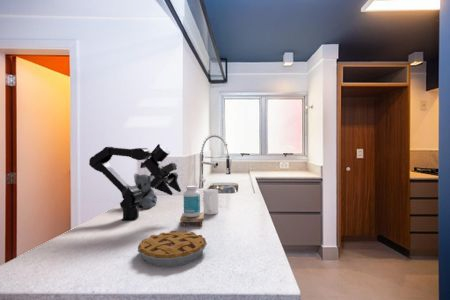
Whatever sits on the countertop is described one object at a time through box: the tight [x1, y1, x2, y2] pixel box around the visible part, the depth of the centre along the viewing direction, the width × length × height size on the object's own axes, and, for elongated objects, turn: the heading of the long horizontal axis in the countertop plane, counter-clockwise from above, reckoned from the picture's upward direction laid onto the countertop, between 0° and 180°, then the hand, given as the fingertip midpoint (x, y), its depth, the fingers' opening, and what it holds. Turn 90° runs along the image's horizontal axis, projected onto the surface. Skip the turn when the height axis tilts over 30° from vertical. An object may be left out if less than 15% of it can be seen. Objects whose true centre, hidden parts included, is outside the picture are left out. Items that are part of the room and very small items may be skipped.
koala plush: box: [133, 173, 158, 209], centre depth 156 cm, size 17×18×20 cm
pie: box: [137, 230, 208, 268], centre depth 85 cm, size 22×22×5 cm
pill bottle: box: [183, 185, 201, 217], centre depth 118 cm, size 8×7×14 cm
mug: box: [202, 188, 219, 215], centre depth 136 cm, size 8×12×12 cm
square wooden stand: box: [179, 212, 205, 227], centre depth 118 cm, size 10×10×4 cm
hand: (176, 193), depth 121 cm, fingers open, 9 cm apart
